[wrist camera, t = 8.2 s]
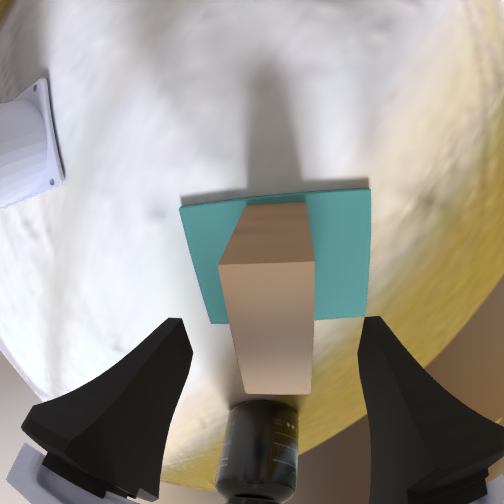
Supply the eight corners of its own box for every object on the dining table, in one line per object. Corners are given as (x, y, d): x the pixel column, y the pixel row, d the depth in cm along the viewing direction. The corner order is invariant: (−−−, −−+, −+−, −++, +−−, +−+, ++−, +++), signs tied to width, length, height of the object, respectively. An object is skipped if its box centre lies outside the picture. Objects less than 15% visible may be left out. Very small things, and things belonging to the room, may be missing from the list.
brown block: (308, 312, 17) (310, 394, 11) (259, 314, 17) (245, 393, 12) (306, 201, 14) (314, 261, 8) (246, 205, 14) (217, 265, 9)
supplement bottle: (258, 433, 26) (243, 528, 16) (215, 407, 24) (187, 515, 14) (312, 420, 24) (307, 529, 13) (272, 390, 22) (255, 522, 11)
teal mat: (212, 319, 18) (211, 323, 18) (181, 206, 15) (178, 208, 15) (363, 311, 17) (364, 315, 16) (368, 188, 13) (370, 190, 13)
